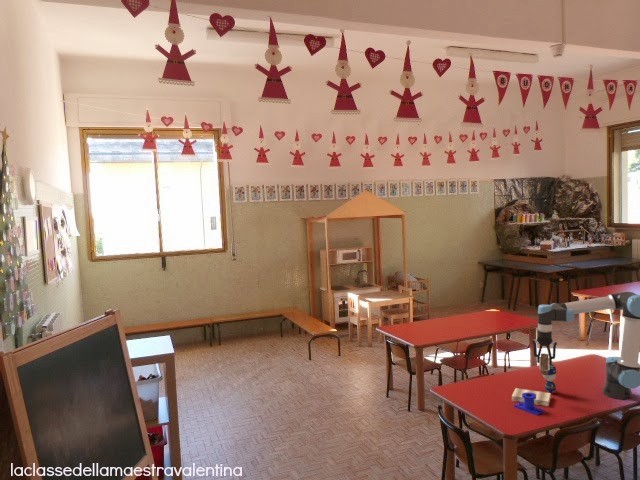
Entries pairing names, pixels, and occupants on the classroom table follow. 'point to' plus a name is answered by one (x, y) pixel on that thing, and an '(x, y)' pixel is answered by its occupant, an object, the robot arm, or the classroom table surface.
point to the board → (541, 399)
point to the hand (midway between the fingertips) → (544, 368)
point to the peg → (544, 364)
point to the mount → (529, 404)
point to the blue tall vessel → (550, 379)
